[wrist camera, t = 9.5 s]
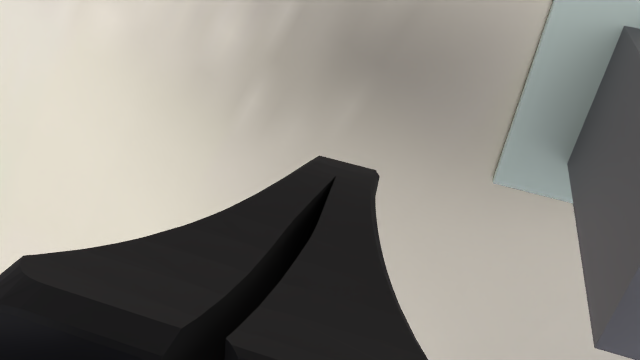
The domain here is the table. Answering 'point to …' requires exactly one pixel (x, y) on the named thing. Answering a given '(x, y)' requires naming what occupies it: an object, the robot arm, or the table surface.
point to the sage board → (561, 93)
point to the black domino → (611, 201)
